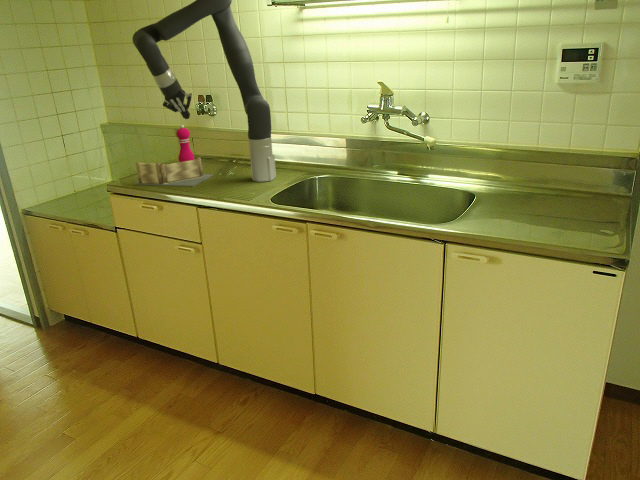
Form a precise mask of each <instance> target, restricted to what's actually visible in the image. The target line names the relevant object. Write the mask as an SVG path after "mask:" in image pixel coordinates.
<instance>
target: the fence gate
mask: <svg viewBox="0 0 640 480" xmlns="http://www.w3.org/2000/svg"><path fill="white" fill-rule="evenodd" d="M160 166H161V172H162V179H163V183H166V182H170V181H176V180H181V179H186V178H192V177H197V176H203V174H204V173H203V163H202V158H201V157H196V159H194V160H191V161H185V162H179V161H178V162H174V163H173V162H172V163H167V164H165V163H160Z"/></svg>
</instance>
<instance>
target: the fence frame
mask: <svg viewBox="0 0 640 480" xmlns="http://www.w3.org/2000/svg"><path fill="white" fill-rule="evenodd" d="M160 164H161V162H156V163H151V162H150V163H149V162H148V163H142V162H140V161H138V162H137V161H136V162H135V166H136V172H137V173H136V174H137V178H138V182H139V183H155V184H162V183H163V179H162V172H161V166H160Z"/></svg>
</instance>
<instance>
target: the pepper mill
mask: <svg viewBox="0 0 640 480" xmlns="http://www.w3.org/2000/svg"><path fill="white" fill-rule="evenodd" d="M175 132H176V133H175V135H176V137H177V138H178V143H179V149H180V150H179V153H178V157H177V158H178V163H179V162H185V161H191V160H196V159H195V155H194V152H193V151H192V150H191V147H190V136H191V135H190V134H191V133H190V130H189V129H188V128H186V127H185V125H184V124H180V125H179V128H178V129H177V130H176V131H175Z"/></svg>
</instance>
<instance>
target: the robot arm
mask: <svg viewBox="0 0 640 480" xmlns="http://www.w3.org/2000/svg"><path fill="white" fill-rule="evenodd" d="M232 2H233V0H195V1H193V2H191V3H190V4H188V5H186V6H184V7H181V8H180V9H178V10H176V11H174V12H172V13H170V14H169V15H167V16H165V17H163V18H161V19H160V20H158V21H157V22H155V23H152V24H148V25H146V26H142V27H140V28H139V29H138V30H136V31H135V32H134V33H133V35H132V44H133V45H134V47H135V48H136V49H137V51H138V53H139V54H140V56H141V57H142V59H143V60H144V62H145V65H146V67H147V69H148V70H149V72H150V73H151V75H152V77H153V79H154V82H155V83H156V85H157V87H158V88H159V90H160V92H161V94H162V95H163V96H164V100H163V102H162V106H163V107H164V108H167V109H169V110H170V111H172V112H174V113H180V115H181V117H182V118H183V119H185V120H188V119H190V116H191V113H190V111H189V108H190V105H191V101H192V97H193V94H192V93H191V92H190V93H187V92H186V91H185V90H184V89H183V88H182V86H181V84H180V82H179V80H178V78H177V77H176V75H175V73H174V72H173V69H172V68H170V65H169V64H168V62H167V60H166V58H165V57H164V56H163V55H162V52H161V50H160V48H159V46H158V44H157V43H159V42H161V41H164V42H165V41H166V42H167V41H169V40H171V39H173V38H174V37H176V36H178V35H180V34H181V33H183V32H185V30H187V29H189V28H190V27H192V26H193V25H195V24H196V23H198V22H200V21H201V20H203V19H205V18H207V17H209V16H211V18H212V20H213V22H214V24H215V27H216V29H217V34H218V37H219V40H220V43H221V47H222V50H223V53H224V55H225V56H224V57H225V59H226V62H227V64H228V66H229V69H230V71H231V73H232V76H233V79H234V81H235V82H236V85H237V87H238V90H239V92H240V93H239V94H240V96H241V99H242V104H243V108H244V111H245V112H244V113H245V114H246V117H247V118H246V119H247V125H248V126H247V129H248V130H247V131H248V132H247V137H248V149H249V157H250V158H249V159H250V169H251V170H250V171H251V178H252V181H253V182H260V183H261V182H269V181H270V182H271V181H273V180H274V179H276V178H277V172H276V170H277V169H276V159H275V158H276V157H275V154H273V144H272V116H271V115H272V114H271V108H270V104H269V103H268V101H267V100H266V99H264V97H263V95H262V92H261V91H260V88H259V86H258V84H257V79H256V75H255V74H256V73H255V69H254V63H253V59H252V55H251V52H250V49H249V47H248V44H247V42H246V40H245V38H244V36H243V34H242V33H241V31H240V29H239V27H238V26H237V24H236V21H235V19H234V15H233V11H232V8H231V5H232ZM185 100H187V101H185Z"/></svg>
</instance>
